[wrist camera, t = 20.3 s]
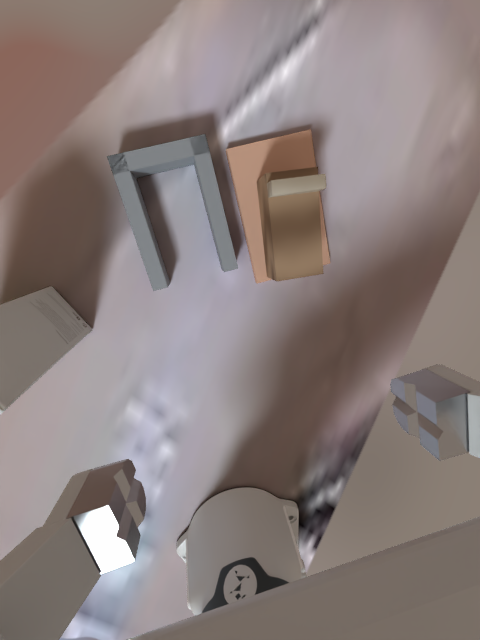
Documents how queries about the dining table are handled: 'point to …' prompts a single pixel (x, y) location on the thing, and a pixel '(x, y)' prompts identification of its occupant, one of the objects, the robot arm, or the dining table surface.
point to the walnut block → (291, 222)
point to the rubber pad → (250, 167)
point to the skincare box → (34, 339)
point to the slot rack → (125, 176)
